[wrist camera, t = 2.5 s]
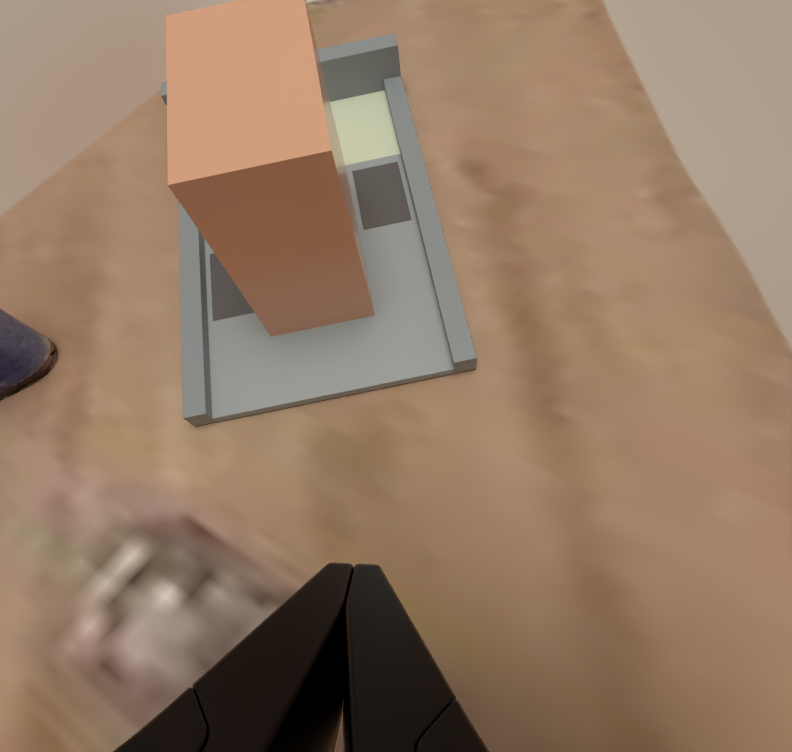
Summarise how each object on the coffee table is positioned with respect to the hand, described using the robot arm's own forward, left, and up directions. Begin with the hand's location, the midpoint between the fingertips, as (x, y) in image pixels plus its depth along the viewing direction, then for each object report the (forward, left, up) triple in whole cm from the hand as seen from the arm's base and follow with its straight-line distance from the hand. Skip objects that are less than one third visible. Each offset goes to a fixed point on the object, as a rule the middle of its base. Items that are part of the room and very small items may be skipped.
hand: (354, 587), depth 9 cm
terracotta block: (+5, +15, -12) cm, 21 cm away
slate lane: (+6, +17, -13) cm, 22 cm away
